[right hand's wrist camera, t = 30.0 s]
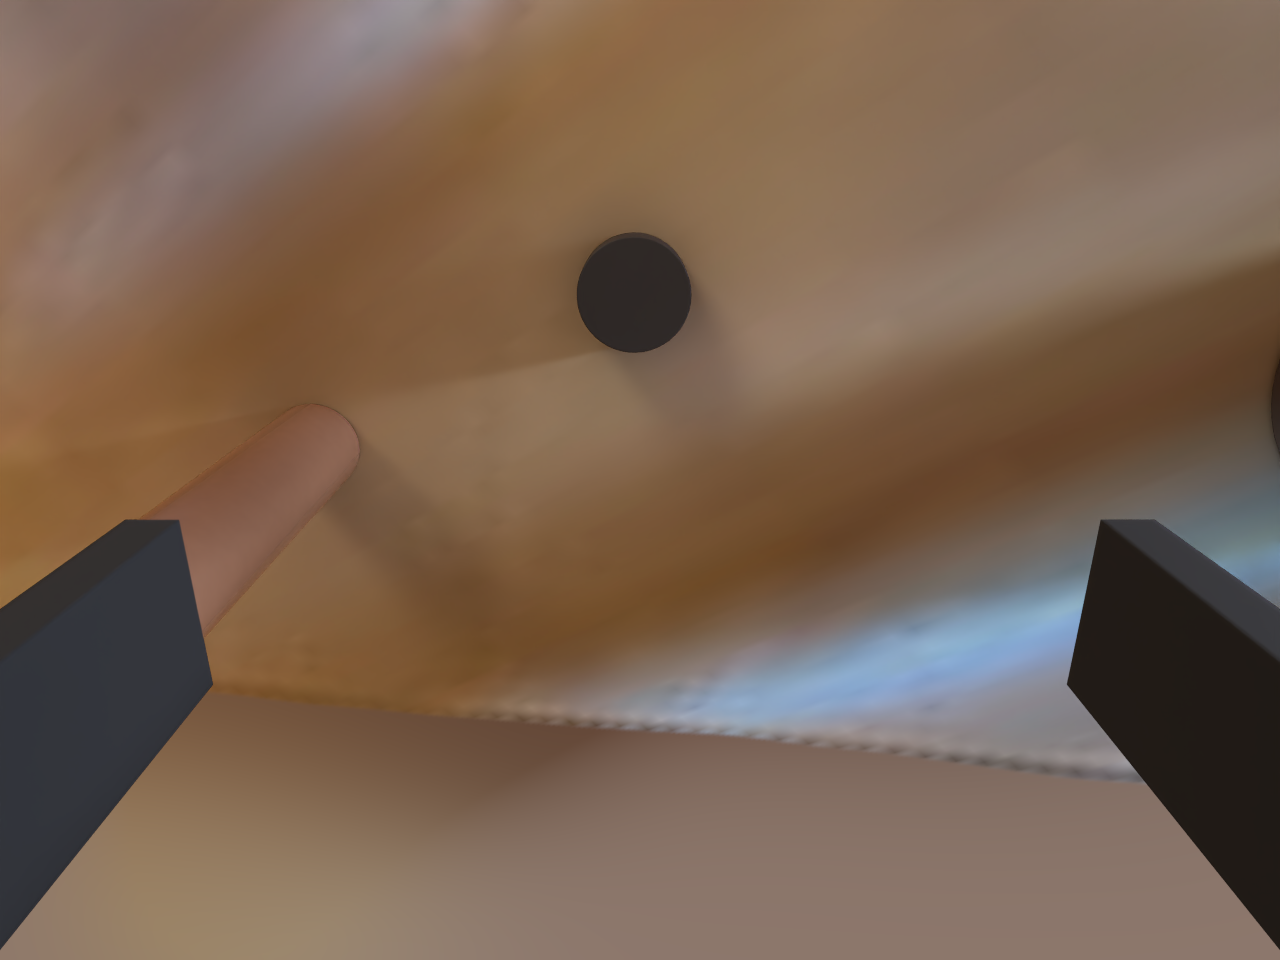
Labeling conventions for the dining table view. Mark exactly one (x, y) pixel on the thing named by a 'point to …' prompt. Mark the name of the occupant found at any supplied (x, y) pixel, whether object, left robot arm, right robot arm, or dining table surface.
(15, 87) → the dining table surface
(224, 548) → the pinkish brown rounded rod
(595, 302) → the lid
